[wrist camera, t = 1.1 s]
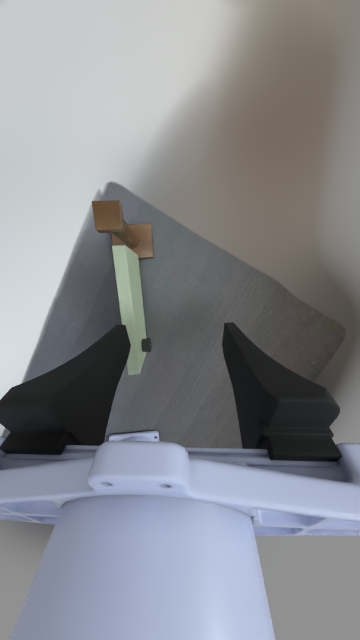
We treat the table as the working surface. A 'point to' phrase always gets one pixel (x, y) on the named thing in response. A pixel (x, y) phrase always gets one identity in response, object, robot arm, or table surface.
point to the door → (131, 305)
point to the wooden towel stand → (122, 228)
